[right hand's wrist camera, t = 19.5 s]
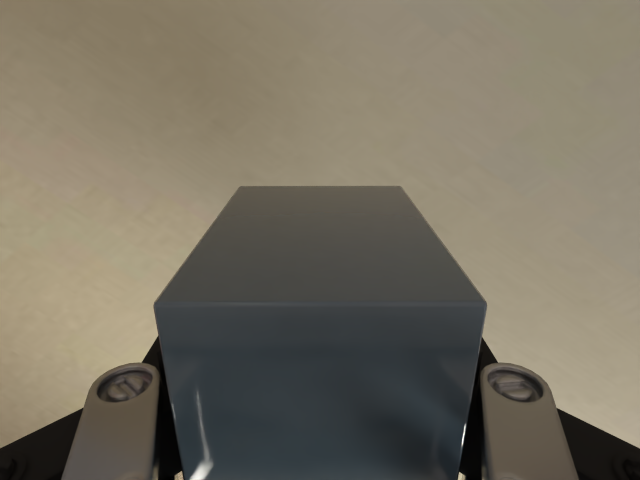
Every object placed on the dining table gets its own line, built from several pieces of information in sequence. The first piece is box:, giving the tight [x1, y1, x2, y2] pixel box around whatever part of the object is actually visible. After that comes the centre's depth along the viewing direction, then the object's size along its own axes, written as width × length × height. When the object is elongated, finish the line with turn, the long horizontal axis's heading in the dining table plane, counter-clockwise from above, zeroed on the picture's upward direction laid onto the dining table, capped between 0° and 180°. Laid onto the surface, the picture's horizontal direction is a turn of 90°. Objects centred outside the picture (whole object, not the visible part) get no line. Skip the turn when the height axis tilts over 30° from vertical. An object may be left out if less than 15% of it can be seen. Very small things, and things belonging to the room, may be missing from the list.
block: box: [154, 186, 487, 480], centre depth 11 cm, size 5×7×7 cm
